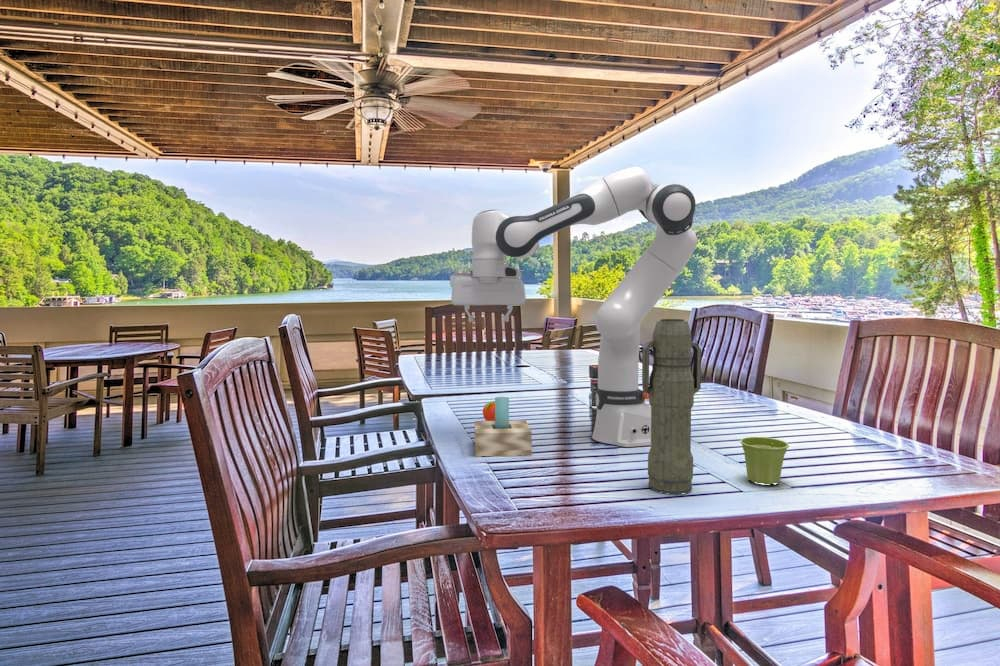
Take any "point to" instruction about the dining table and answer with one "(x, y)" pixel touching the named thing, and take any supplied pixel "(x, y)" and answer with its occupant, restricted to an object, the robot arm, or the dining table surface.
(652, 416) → the thermos
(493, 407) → the clementine
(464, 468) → the dining table surface
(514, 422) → the maple block
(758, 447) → the plant pot
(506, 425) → the teal pin
